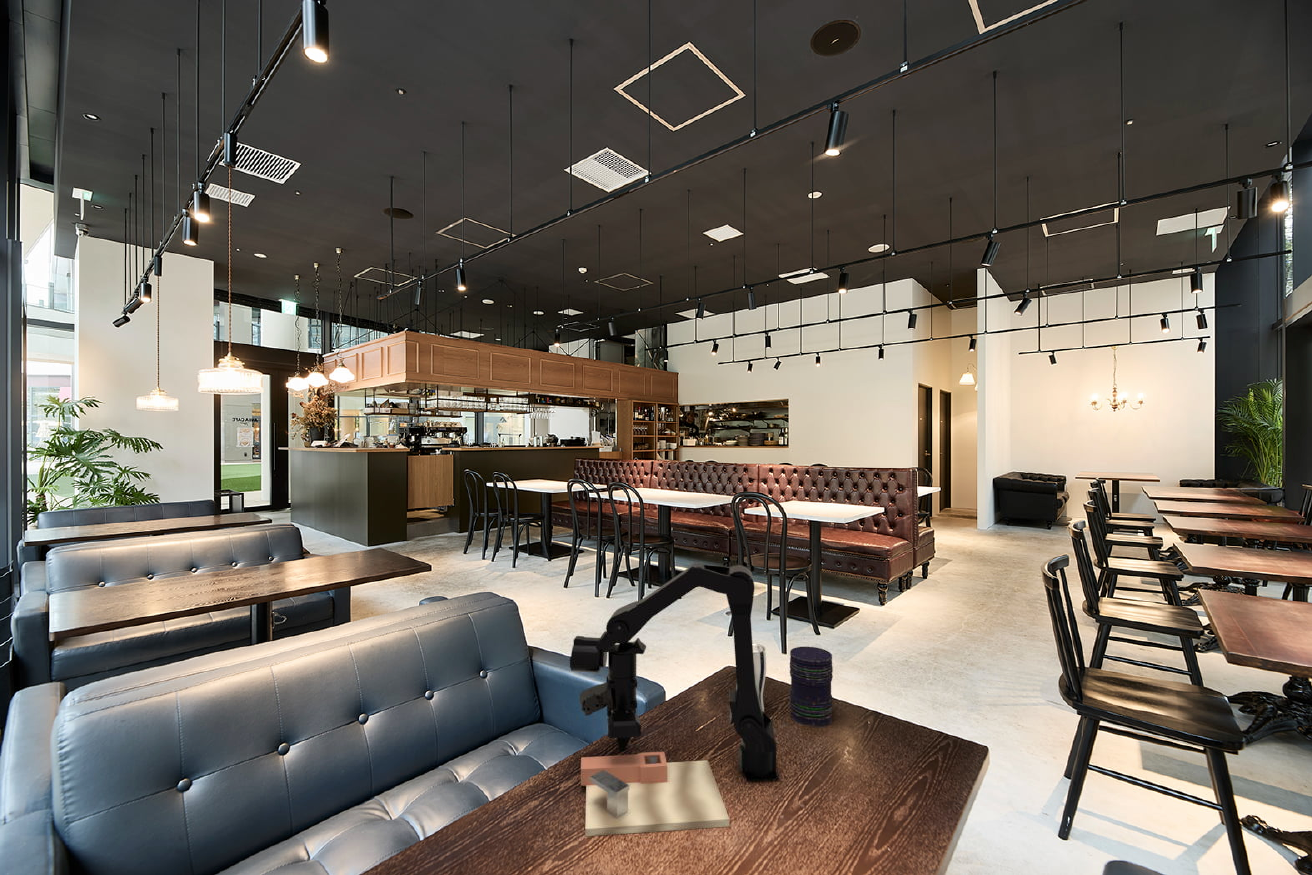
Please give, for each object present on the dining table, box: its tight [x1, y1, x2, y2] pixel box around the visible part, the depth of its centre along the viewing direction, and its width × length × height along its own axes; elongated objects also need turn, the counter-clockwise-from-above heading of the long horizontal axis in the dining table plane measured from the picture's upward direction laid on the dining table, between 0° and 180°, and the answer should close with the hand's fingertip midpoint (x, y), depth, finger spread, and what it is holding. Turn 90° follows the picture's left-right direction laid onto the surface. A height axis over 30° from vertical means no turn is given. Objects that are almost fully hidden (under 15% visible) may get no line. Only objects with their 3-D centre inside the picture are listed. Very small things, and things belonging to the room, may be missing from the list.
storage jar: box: [789, 646, 834, 728], centre depth 134 cm, size 10×10×15 cm
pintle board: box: [584, 756, 730, 837], centre depth 103 cm, size 24×18×4 cm
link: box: [580, 751, 668, 787], centre depth 107 cm, size 16×5×3 cm, turn 96°
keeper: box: [590, 770, 629, 818], centre depth 98 cm, size 3×7×4 cm, turn 46°
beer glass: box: [752, 642, 767, 713], centre depth 138 cm, size 7×7×15 cm
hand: (621, 750), depth 114 cm, fingers closed
